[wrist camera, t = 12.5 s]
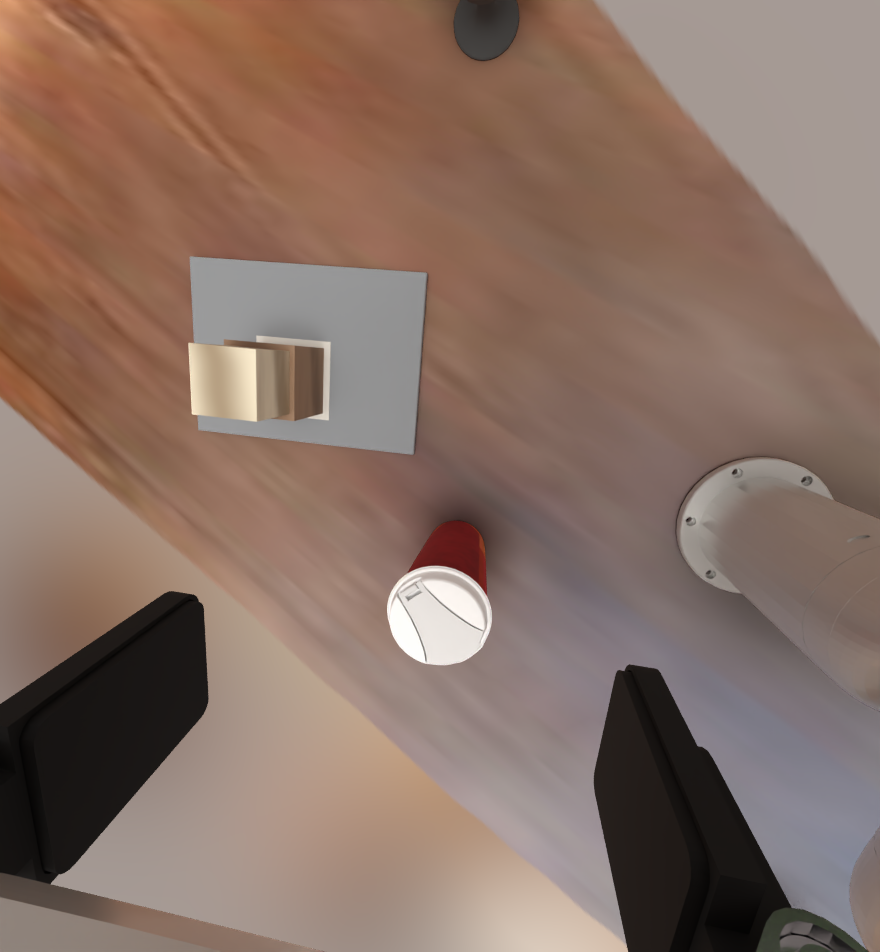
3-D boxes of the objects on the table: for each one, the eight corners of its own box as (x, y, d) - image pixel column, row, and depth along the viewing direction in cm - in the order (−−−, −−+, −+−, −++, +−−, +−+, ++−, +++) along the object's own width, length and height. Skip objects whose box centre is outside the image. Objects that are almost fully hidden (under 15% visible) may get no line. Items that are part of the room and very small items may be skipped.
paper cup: (403, 536, 45) (361, 609, 32) (465, 495, 43) (447, 553, 30) (449, 595, 46) (426, 690, 33) (511, 557, 44) (514, 642, 31)
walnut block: (323, 348, 41) (294, 345, 35) (322, 413, 43) (294, 421, 37) (262, 342, 42) (223, 339, 36) (263, 407, 43) (226, 413, 38)
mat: (427, 274, 39) (426, 272, 38) (414, 453, 43) (413, 454, 42) (194, 258, 41) (189, 256, 41) (202, 429, 46) (197, 430, 45)
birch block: (289, 351, 36) (255, 349, 31) (289, 414, 37) (256, 421, 32) (230, 345, 36) (188, 342, 31) (232, 407, 37) (192, 414, 33)
